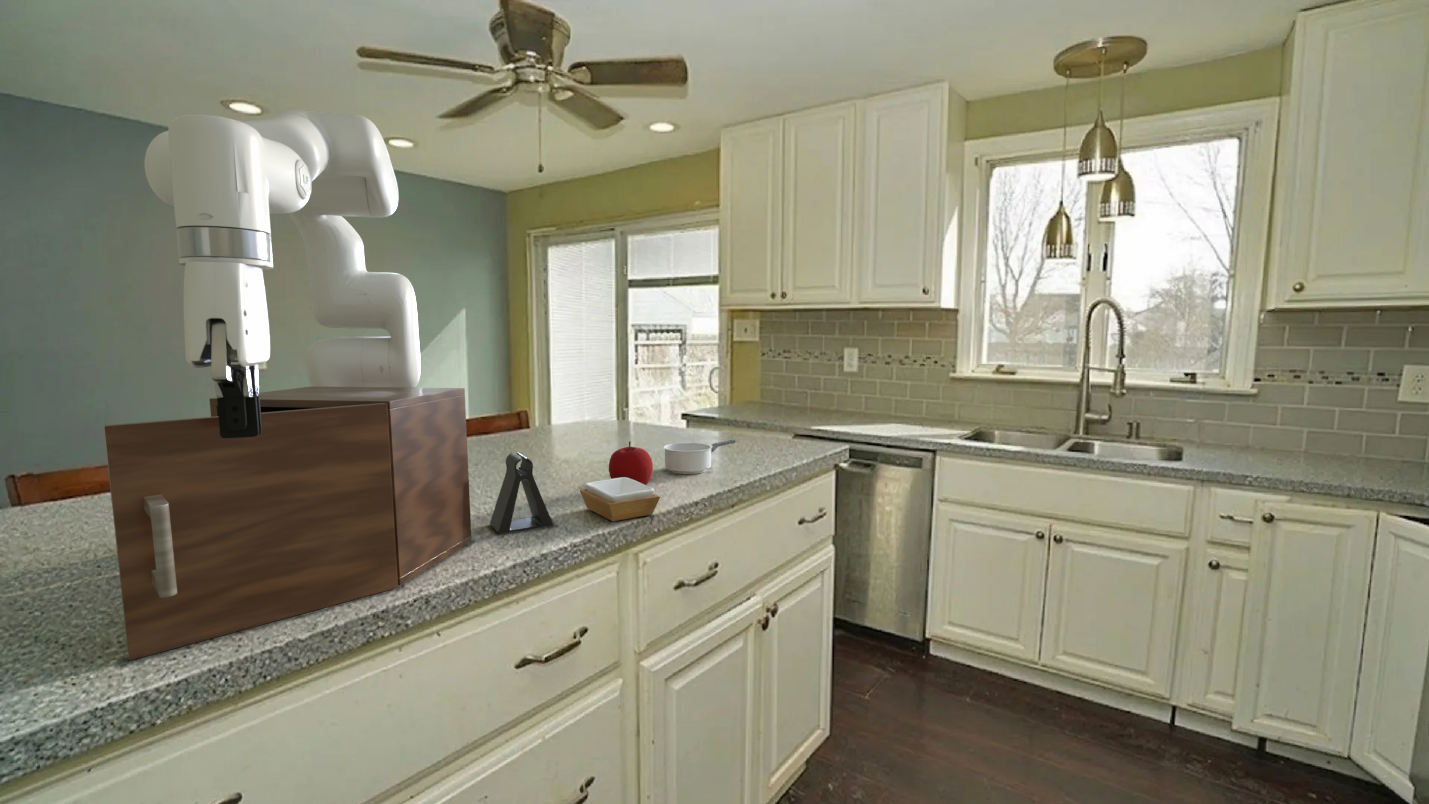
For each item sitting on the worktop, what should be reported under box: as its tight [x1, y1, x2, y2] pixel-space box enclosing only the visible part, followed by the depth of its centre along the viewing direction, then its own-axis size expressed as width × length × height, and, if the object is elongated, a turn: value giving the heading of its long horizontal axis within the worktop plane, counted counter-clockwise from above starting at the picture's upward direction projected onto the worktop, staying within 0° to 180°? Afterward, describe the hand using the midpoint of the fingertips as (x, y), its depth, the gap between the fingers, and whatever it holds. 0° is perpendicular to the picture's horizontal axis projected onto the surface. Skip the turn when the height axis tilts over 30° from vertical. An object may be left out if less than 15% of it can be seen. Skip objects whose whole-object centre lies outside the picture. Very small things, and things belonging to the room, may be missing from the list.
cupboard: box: [209, 386, 472, 586], centre depth 96 cm, size 18×26×24 cm
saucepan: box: [662, 439, 736, 475], centre depth 158 cm, size 12×20×6 cm, turn 130°
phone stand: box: [489, 452, 554, 535], centre depth 112 cm, size 9×6×12 cm, turn 120°
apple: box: [608, 441, 654, 486], centre depth 138 cm, size 9×9×10 cm
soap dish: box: [579, 477, 661, 523], centre depth 120 cm, size 12×10×5 cm
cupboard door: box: [103, 403, 399, 661], centre depth 73 cm, size 6×26×24 cm, turn 136°
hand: (241, 436), depth 68 cm, fingers closed
